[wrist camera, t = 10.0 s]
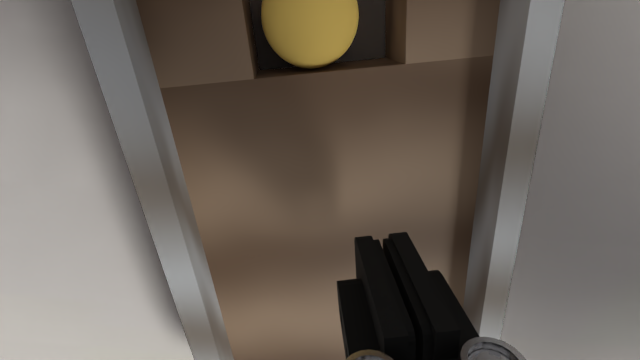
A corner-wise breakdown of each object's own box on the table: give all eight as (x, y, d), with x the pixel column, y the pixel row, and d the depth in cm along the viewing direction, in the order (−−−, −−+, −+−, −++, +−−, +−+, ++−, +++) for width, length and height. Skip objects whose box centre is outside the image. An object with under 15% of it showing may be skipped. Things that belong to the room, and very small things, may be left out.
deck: (453, 327, 20) (489, 394, 17) (232, 358, 20) (219, 433, 16) (516, -255, 10) (643, -410, 7) (69, -231, 10) (-63, -387, 6)
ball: (362, 82, 11) (353, -26, 9) (267, 91, 12) (236, -9, 9) (362, 36, 13) (355, -62, 11) (282, 45, 14) (259, -46, 11)
